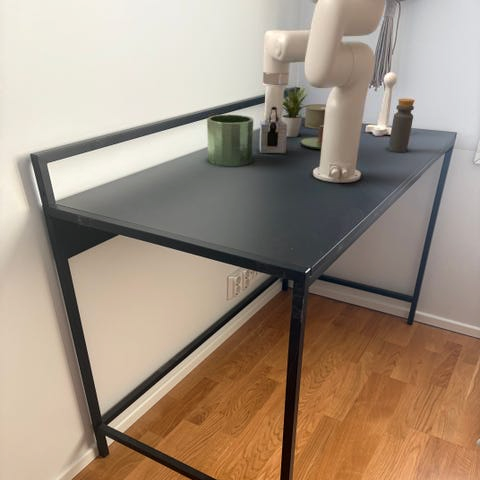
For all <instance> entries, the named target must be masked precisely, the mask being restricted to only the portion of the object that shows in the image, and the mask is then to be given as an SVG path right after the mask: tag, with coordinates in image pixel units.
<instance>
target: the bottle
mask: <svg viewBox="0 0 480 480" xmlns="http://www.w3.org/2000/svg"><path fill="white" fill-rule="evenodd" d="M414 103H415V99H412V98H399V99H398V104H397V105H396V110H397V112H396V113H394V114H393V118H392V123H391V127H392V129H391V135H390V136H389V141H388V146H387V147H388V148H387V150H388V151H390V152H393V153H406V152H407V151H408V148H409V147H408V146H409V142H410V136H411V131H412V127H413V122H414V121H413V120H414V115H413V114H412V111H414V109H415V106H414Z"/></svg>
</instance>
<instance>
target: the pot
mask: <svg viewBox="0 0 480 480" xmlns="http://www.w3.org/2000/svg"><path fill="white" fill-rule="evenodd" d="M206 127H207V129H206V131H207V133H206V135H207V160H208V162H209V163H210V164H212V165H215V166H219V167H220V166H221V167H242V166H246V165H249V164H251V163H252V162H253V151H254V148H253V147H254V118H253V117H251V116H248V115H244V114H243V115H242V114H217V115H216V114H215V115H211V116H208V117H207V118H206Z"/></svg>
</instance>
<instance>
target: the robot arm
mask: <svg viewBox="0 0 480 480" xmlns="http://www.w3.org/2000/svg"><path fill="white" fill-rule="evenodd" d="M309 1H310V2H311V3H313V4H315V7H314V11H313V15H312V20H311V25H310V29H308V30H307V29H301V30H300V29H298V30H297V29H296V30H284V29H271V30H267V31H266V32H265V34H264V42H263V43H264V44H263V68H262V69H263V71H262V85H263V86H265V96H264V98H265V99H264V115H263V117H264V118H263V121H264V122H266V121H269V129H268V135H267V146H273V147H277V146H278V123H279V122H280V121H282V116H283V115H282V114H283V109H284V108H283V107H284V105H283V102H284V95H285V87H288V86H289V81H290V67H291V66H290V65H291V63H304V66H303V67H304V76H305V79H306V81H307V83H308V84H309V85H310V86H311V87H313V88H315V89H329V88H332V89H331V91H330V93H329V95H328V97H327V101H326V103H325V105H326V110H325V119H324V129H323V138H322V148H321V149H320V160H319V166H317V167H315V168H314V169H313V170H312V175H313V177H314V178H316V179H317V180H319V181H324V182H329V183H337V184H338V183H340V184H341V183H342V184H345V183H347V184H348V183H353V182H357V181H358V180H360V179H361V177H362V176H361V175H362V173H361V172H360V171H359V170H358V169H356V168H357V161H358V154H359V148H360V141H361V133H362V126H363V119H364V113H365V108H366V107H365V106H366V100H367V96H368V91H369V87H370V84H371V81H372V79H373V75H374V71H375V67H376V57H375V53H374V51H373V49H372V48H371V46H370V45H368V43H365V42H363V41H359V40H358V41H357V40H346V41H345V40H343V37H363V36H369V35H371V34H373V33H374V32H376V30H377V29H378V27H379V25H380V24H381V23H380V22H381V20H382V17H383V14H384V10H385V6H386V3H387V0H309ZM342 40H343V41H342ZM284 86H285V87H284ZM282 108H283V109H282Z"/></svg>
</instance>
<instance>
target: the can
mask: <svg viewBox="0 0 480 480" xmlns="http://www.w3.org/2000/svg"><path fill="white" fill-rule="evenodd" d="M325 110H326V104H325V103H324V104H323V103H322V104H320V103H313V104H307V105H305V116H304V118H305V119H304V127H305V128H307V129H312V130H313V129H314V130H319V126H320V125H324V119H325Z"/></svg>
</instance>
